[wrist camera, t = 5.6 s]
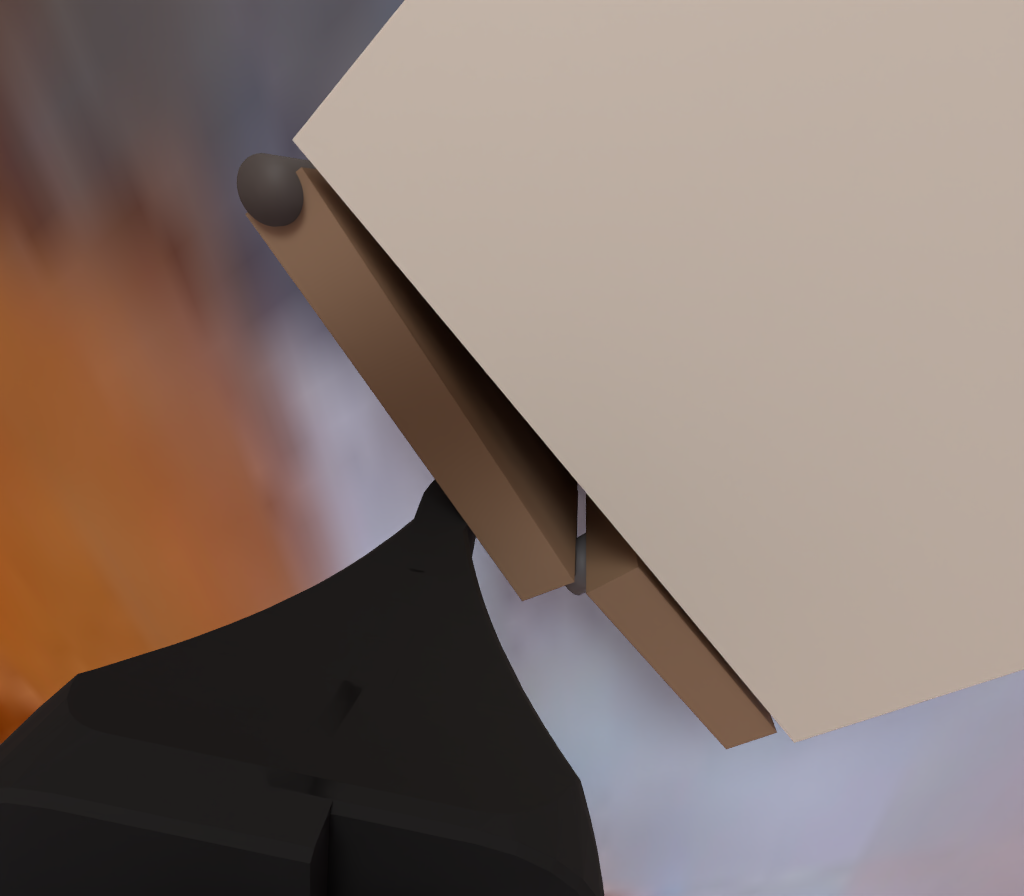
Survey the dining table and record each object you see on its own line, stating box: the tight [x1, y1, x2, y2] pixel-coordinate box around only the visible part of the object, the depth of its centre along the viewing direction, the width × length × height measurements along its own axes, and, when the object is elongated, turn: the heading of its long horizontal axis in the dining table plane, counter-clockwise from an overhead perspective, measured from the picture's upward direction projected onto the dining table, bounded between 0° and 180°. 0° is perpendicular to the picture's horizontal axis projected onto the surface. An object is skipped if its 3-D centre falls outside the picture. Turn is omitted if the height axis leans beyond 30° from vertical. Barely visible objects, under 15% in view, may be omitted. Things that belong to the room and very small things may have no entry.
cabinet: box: [293, 0, 1024, 749], centre depth 8 cm, size 12×10×5 cm
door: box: [237, 153, 578, 601], centre depth 9 cm, size 8×1×5 cm, turn 31°
